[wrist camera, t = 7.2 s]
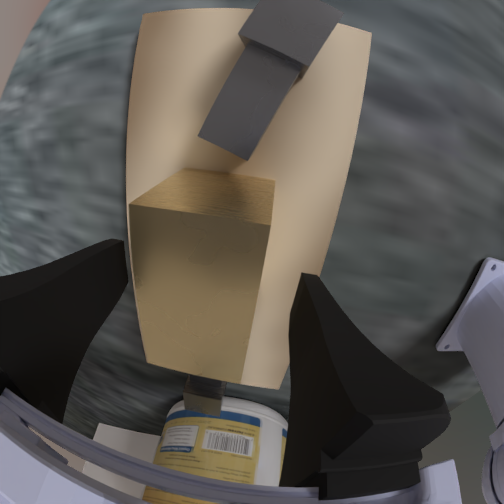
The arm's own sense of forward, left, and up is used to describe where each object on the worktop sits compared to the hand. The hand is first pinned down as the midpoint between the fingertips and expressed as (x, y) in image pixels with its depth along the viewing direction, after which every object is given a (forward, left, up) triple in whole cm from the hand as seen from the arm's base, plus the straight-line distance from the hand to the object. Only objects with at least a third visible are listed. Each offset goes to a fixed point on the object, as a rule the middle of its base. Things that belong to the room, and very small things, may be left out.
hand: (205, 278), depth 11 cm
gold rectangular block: (0, 0, -3) cm, 3 cm away
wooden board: (0, 0, -4) cm, 4 cm away
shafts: (-1, 0, -3) cm, 3 cm away
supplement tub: (-2, +20, -4) cm, 21 cm away
